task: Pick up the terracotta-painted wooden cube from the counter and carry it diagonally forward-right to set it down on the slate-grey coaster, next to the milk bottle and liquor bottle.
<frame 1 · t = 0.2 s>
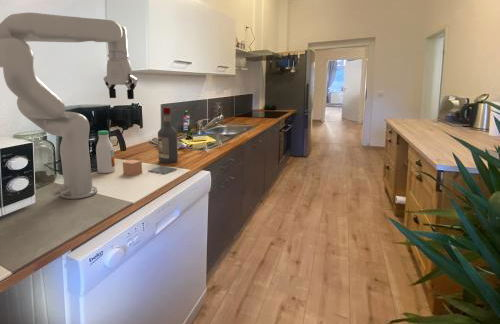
hand: (121, 98, 134), 36 cm above the countertop, tool pointing down, fingers open, 9 cm apart
coaster: (162, 170, 155), on the countertop
liquor: (168, 161, 174), on the countertop
milk bottle: (106, 171, 151), on the countertop
cube: (132, 173, 149), on the countertop
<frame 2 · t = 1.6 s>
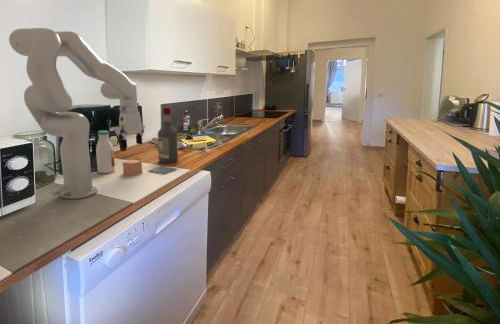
hand: (131, 145, 146), 14 cm above the countertop, tool pointing down, fingers open, 9 cm apart
nothing on the countertop moved.
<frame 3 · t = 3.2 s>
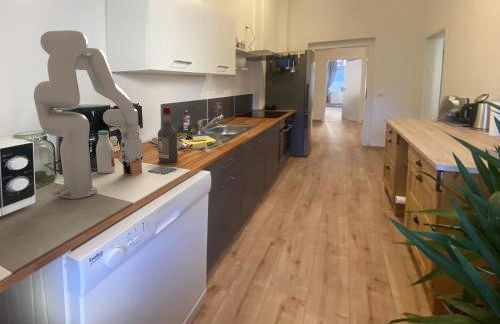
hand: (132, 171, 149), 1 cm above the countertop, tool pointing down, fingers closed on cube, 6 cm apart
cube: (132, 173, 149), on the countertop, touching gripper
everything else where it was.
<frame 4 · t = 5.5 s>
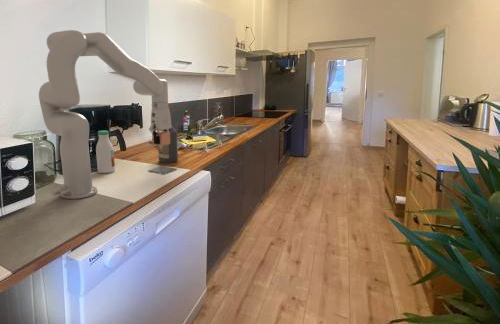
hand: (161, 142, 152), 14 cm above the countertop, tool pointing down, fingers closed on cube, 6 cm apart
cube: (161, 144, 152), point 14 cm above the countertop, touching gripper
everything else where it was.
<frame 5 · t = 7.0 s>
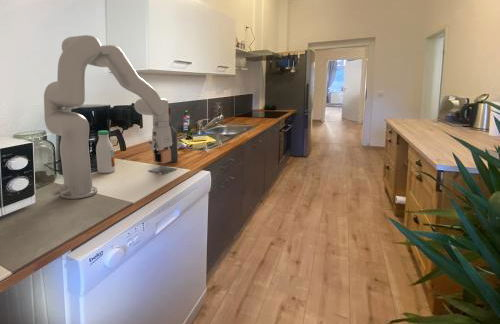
hand: (162, 159, 154), 6 cm above the countertop, tool pointing down, fingers closed on cube, 6 cm apart
cube: (162, 161, 154), point 5 cm above the countertop, touching gripper
everything else where it was.
when the fingers open (2 cm above the countertop, at t = 8.2 s): cube stays where it is, resting on coaster.
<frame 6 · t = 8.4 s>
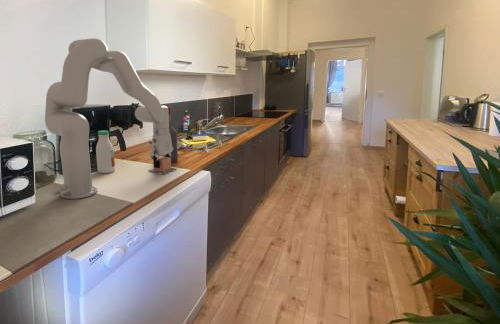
hand: (162, 165, 155), 3 cm above the countertop, tool pointing down, fingers open, 8 cm apart
cube: (162, 169, 155), point 1 cm above the countertop, touching coaster
everything else where it was.
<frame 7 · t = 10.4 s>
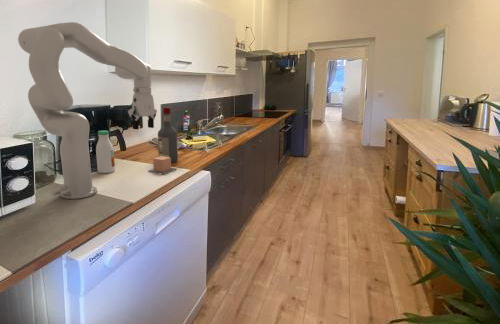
hand: (143, 128, 146), 22 cm above the countertop, tool pointing down, fingers open, 9 cm apart
nothing on the countertop moved.
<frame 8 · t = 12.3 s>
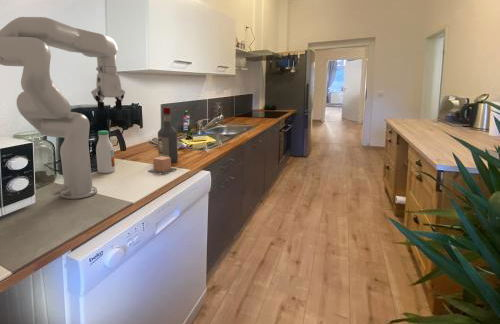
hand: (110, 110, 138), 30 cm above the countertop, tool pointing down, fingers open, 9 cm apart
nothing on the countertop moved.
at the end: cube inside the target area on the coaster (0.1 cm from its centre), point 0.6 cm above the coaster's base; cube tilted 0°; the gripper is holding nothing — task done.
